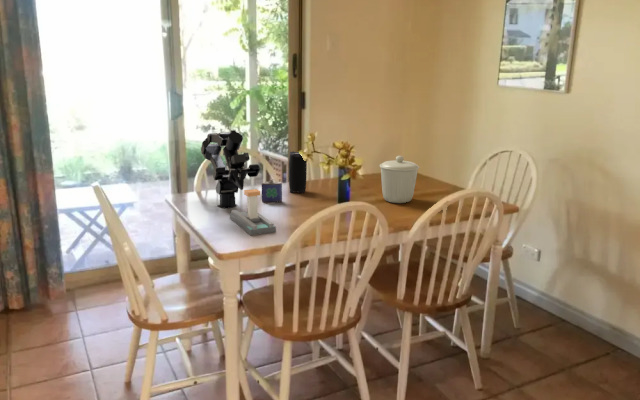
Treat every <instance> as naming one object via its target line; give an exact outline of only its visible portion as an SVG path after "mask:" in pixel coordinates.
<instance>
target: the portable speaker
mask: <svg viewBox="0 0 640 400" xmlns="http://www.w3.org/2000/svg"><path fill="white" fill-rule="evenodd" d="M299 152H300V151H295V150H294V151H290V152H289V159H288V186H289V193H291V194H294V193H299V194H304V193H306V190H307V189H306V188H307V175H308V173H307V171H308V170H307V167H308V164H307V160H306V161H304V160H303V158H302V156H301V155H300V154H299Z"/></svg>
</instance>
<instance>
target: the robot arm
mask: <svg viewBox="0 0 640 400" xmlns="http://www.w3.org/2000/svg"><path fill="white" fill-rule="evenodd" d="M243 139H244V137H243V135H242V134H241V133H240V132H238V131H236V129H231V130H230V131H229V132H215V133H214V132H212V133H208V134H207V136H206V138H205V139H204V140H203V141H202V143H201V146H200V152H201V155H202V156H203V158H204V159H206V160H207V161H209V162H210V163H211V165H212V167H213V169H214V171H213V174H212V176H213V180H214V181H217V182H216V186H215V193H216V194H218V195H219V204H217V207H220V208H223V209H231V208H235V207H237V206H239V205H238V204H236V196H235V195H236V193H237V194H238V193H239V190H241V191H244V183H245V182H244V181H245V179H246V177H249V178H255V177H257V176H258V175H259V173H260V170H261V167H260V164H258V163H256V164H249V165H248V167H246V168H245V163H247V162H249V160H250V153H249V152H243V153H241V154H239V150H240V148H241V145H242V143H243ZM222 148H223V149H222ZM221 151H222V155H223V156H224V158H225V162H226V163H224V161H223V159H222V157H221ZM227 168H228V169H227Z"/></svg>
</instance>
